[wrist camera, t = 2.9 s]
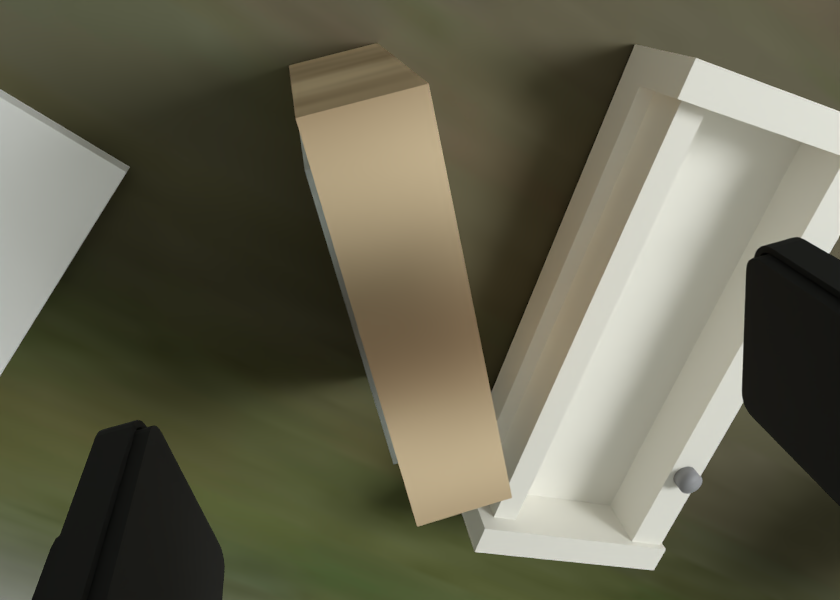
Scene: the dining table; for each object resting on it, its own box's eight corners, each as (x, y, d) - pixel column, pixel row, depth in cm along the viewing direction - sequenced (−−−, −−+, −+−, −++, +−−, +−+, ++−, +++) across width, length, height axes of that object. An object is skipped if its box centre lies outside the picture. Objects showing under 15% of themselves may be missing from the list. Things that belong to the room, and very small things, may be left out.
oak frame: (448, 353, 23) (512, 497, 17) (374, 374, 23) (411, 528, 17) (377, 42, 18) (429, 83, 12) (283, 66, 18) (286, 120, 12)
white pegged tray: (614, 507, 27) (656, 574, 24) (452, 486, 25) (476, 556, 22) (824, 113, 21) (912, 138, 18) (635, 44, 19) (700, 58, 16)
